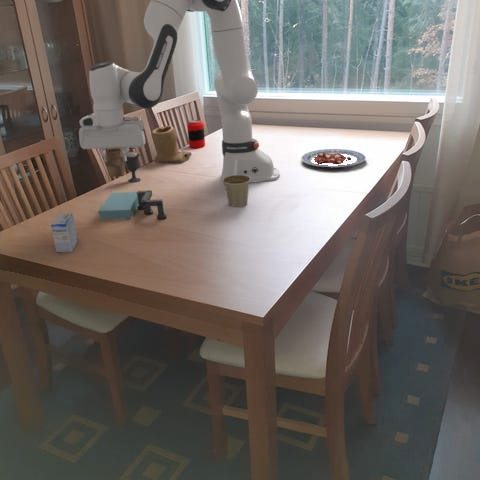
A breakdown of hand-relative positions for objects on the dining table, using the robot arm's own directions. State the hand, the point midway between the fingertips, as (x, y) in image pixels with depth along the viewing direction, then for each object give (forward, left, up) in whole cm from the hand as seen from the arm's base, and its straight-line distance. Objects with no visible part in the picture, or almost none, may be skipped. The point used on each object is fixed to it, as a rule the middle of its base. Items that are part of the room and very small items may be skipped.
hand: (115, 161), depth 164 cm
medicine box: (+10, +28, -17) cm, 34 cm away
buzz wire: (-10, +4, -17) cm, 20 cm away
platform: (+1, 0, -17) cm, 17 cm away
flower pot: (-38, -1, -17) cm, 42 cm away
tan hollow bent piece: (-8, -56, -17) cm, 59 cm away
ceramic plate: (-76, -45, -17) cm, 90 cm away
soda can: (-17, -79, -17) cm, 83 cm away
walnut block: (0, 0, -4) cm, 4 cm away
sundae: (+3, -31, -17) cm, 36 cm away
